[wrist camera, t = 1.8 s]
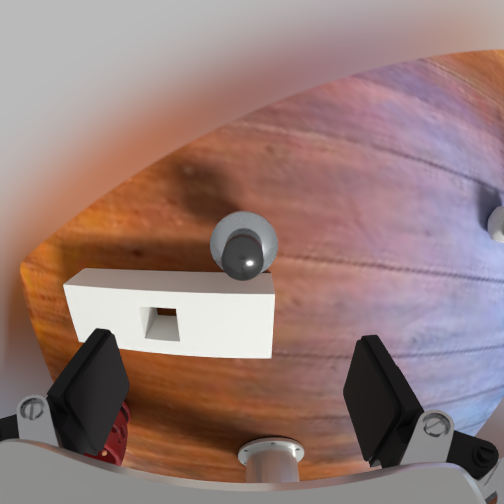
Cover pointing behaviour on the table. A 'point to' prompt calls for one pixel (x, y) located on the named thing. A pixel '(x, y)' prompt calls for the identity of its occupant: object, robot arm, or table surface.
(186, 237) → the table surface
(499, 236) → the grey rounded lumpy piece
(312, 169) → the table surface
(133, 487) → the robot arm
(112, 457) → the plant pot
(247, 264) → the silver and black post
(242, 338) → the bar
